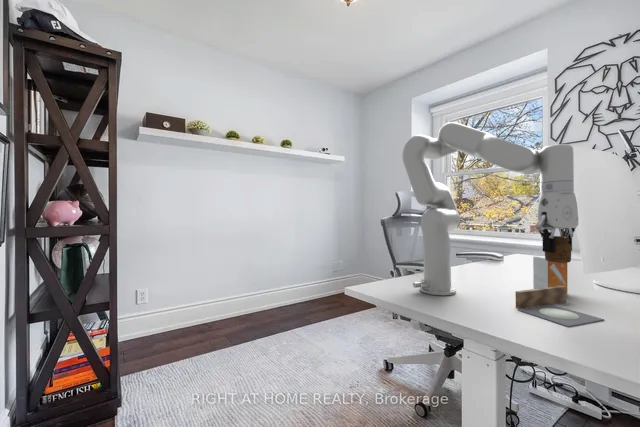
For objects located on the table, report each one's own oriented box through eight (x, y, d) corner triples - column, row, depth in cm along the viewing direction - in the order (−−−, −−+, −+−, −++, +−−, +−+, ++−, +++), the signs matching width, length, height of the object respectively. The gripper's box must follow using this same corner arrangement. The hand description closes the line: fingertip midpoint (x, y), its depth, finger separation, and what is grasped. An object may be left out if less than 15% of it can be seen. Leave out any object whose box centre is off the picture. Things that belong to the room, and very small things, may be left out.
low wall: (520, 308, 92) (520, 292, 92) (515, 307, 93) (515, 291, 93) (566, 301, 98) (566, 286, 98) (561, 300, 99) (561, 285, 99)
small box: (548, 295, 105) (547, 258, 104) (532, 291, 111) (532, 256, 111) (568, 294, 106) (568, 257, 106) (552, 290, 112) (551, 255, 112)
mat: (568, 327, 77) (568, 325, 77) (517, 310, 90) (517, 308, 90) (604, 320, 81) (604, 318, 81) (550, 305, 94) (550, 303, 94)
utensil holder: (574, 263, 82) (574, 219, 82) (546, 262, 84) (546, 219, 84) (567, 260, 87) (567, 219, 87) (541, 259, 90) (540, 219, 90)
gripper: (548, 187, 79) (549, 255, 80) (592, 187, 85) (592, 251, 85) (521, 189, 87) (522, 251, 87) (563, 189, 92) (564, 248, 92)
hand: (557, 250), depth 86 cm, fingers closed on utensil holder, 5 cm apart
